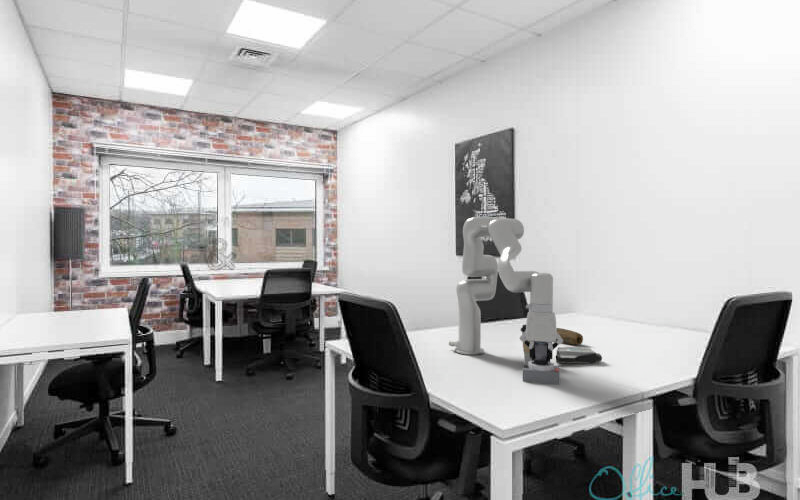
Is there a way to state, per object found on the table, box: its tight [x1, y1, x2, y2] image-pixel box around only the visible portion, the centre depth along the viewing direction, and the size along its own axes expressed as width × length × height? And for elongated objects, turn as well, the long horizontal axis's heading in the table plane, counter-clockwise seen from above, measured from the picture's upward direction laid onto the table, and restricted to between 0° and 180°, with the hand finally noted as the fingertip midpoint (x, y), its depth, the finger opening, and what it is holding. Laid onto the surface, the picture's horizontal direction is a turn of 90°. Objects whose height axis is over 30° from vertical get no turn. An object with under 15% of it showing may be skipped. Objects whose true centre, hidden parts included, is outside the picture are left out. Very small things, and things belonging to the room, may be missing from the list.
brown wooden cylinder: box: [555, 327, 584, 346], centre depth 226 cm, size 15×7×7 cm, turn 37°
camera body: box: [522, 361, 560, 385], centre depth 165 cm, size 12×9×6 cm
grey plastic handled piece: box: [555, 346, 603, 364], centre depth 193 cm, size 16×20×5 cm
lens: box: [533, 342, 549, 365], centre depth 165 cm, size 5×5×7 cm
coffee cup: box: [520, 324, 534, 363], centre depth 186 cm, size 9×9×15 cm
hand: (540, 359), depth 165 cm, fingers closed on lens, 4 cm apart
